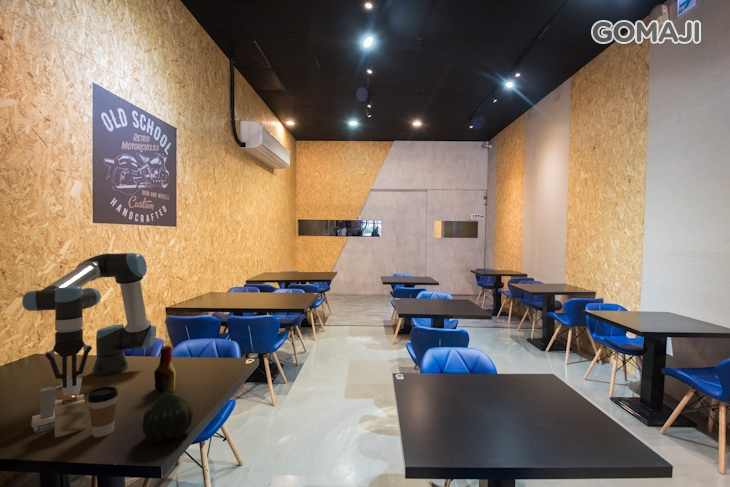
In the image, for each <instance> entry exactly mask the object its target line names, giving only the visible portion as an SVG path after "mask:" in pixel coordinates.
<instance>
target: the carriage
mask: <svg viewBox="0 0 730 487" xmlns="http://www.w3.org/2000/svg"><path fill="white" fill-rule="evenodd" d="M54 388H55V387H54V385H52V386H46V387H42V388H40V394H39V395H40V401H39V402H40V405H39V406H40V409H39V410H40V413H41V414H39V415H37V414H36V415H32V418H31V428H33V432H35V430H38V429H39V426H40V425H44V424H48V423H51V422H55V411H54V408H55V400H54V398H55V396H54V392H55V390H54Z"/></svg>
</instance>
